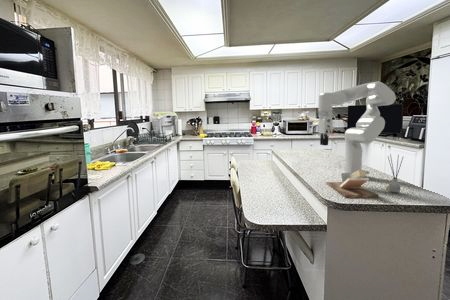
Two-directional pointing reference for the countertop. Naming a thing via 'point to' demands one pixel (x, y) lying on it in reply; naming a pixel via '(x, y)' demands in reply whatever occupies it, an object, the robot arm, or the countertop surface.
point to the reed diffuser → (394, 180)
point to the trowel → (353, 175)
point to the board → (352, 191)
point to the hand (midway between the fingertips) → (324, 144)
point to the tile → (353, 182)
